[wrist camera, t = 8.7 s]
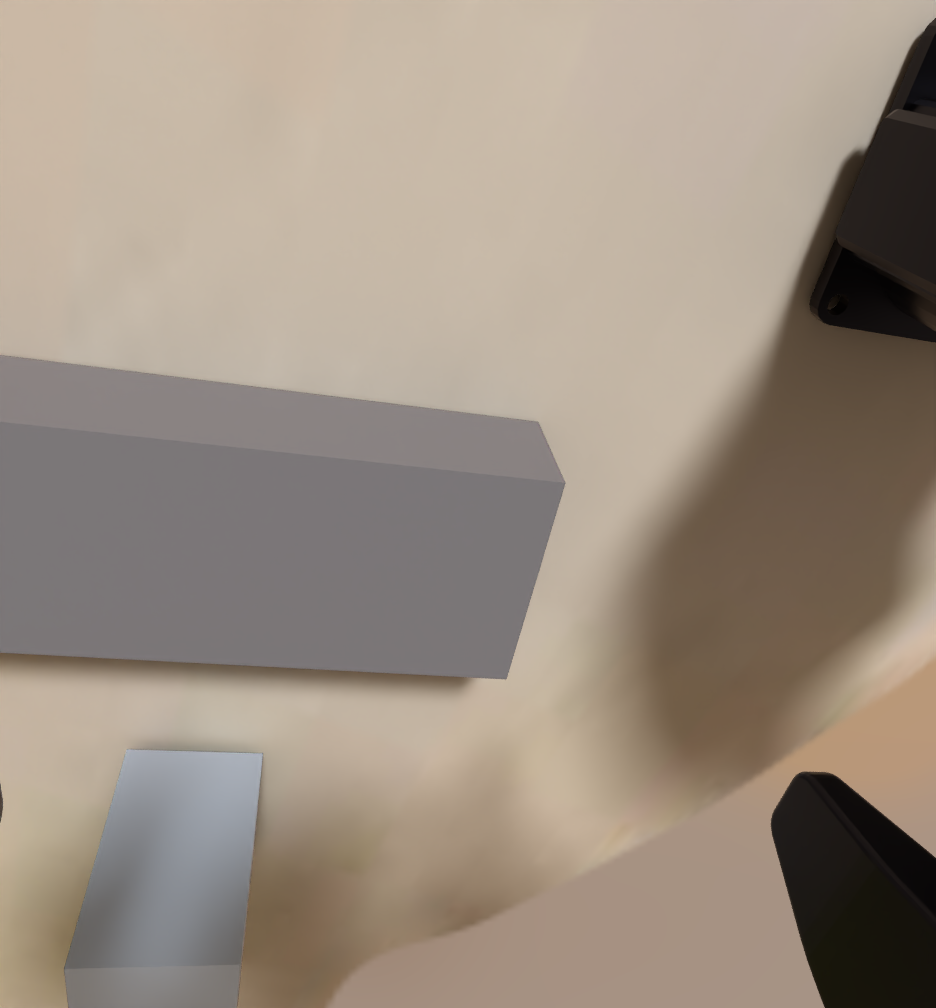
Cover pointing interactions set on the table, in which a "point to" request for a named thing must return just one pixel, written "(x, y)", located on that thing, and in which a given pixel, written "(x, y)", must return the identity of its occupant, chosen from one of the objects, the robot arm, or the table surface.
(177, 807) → the block
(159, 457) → the power strip
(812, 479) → the table surface
